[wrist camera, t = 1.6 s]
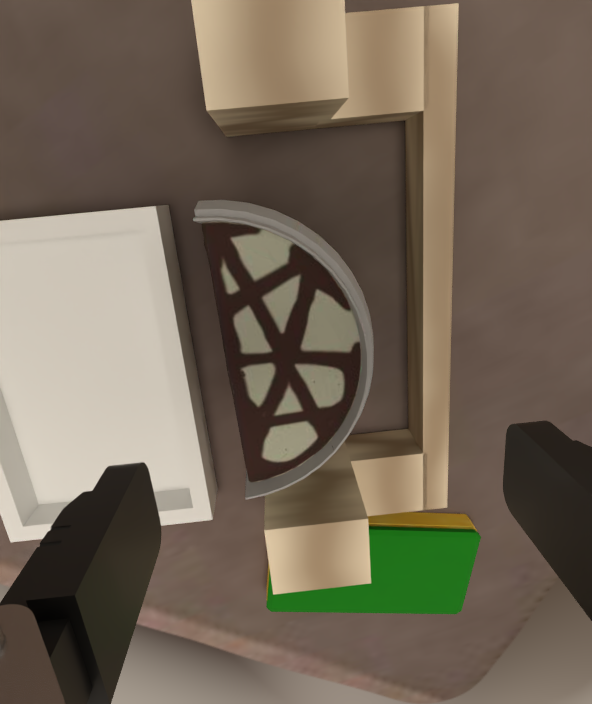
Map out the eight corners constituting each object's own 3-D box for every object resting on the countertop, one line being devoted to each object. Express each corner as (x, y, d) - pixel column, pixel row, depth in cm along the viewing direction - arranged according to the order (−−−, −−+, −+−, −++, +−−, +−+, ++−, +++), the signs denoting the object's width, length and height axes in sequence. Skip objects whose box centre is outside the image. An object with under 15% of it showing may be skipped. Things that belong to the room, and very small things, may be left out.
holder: (272, 496, 31) (273, 594, 23) (214, 46, 22) (187, -29, 15) (430, 478, 31) (482, 570, 24) (434, 27, 23) (518, -57, 15)
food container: (352, 392, 29) (393, 490, 19) (254, 405, 29) (247, 510, 19) (334, 183, 25) (374, 178, 15) (219, 198, 25) (189, 202, 15)
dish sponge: (448, 588, 35) (461, 615, 33) (266, 584, 34) (266, 612, 32) (467, 510, 33) (482, 534, 30) (273, 503, 32) (273, 527, 29)
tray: (34, 509, 30) (10, 542, 27) (-60, 226, 24) (-104, 230, 21) (217, 489, 30) (212, 519, 28) (168, 204, 25) (155, 206, 22)
